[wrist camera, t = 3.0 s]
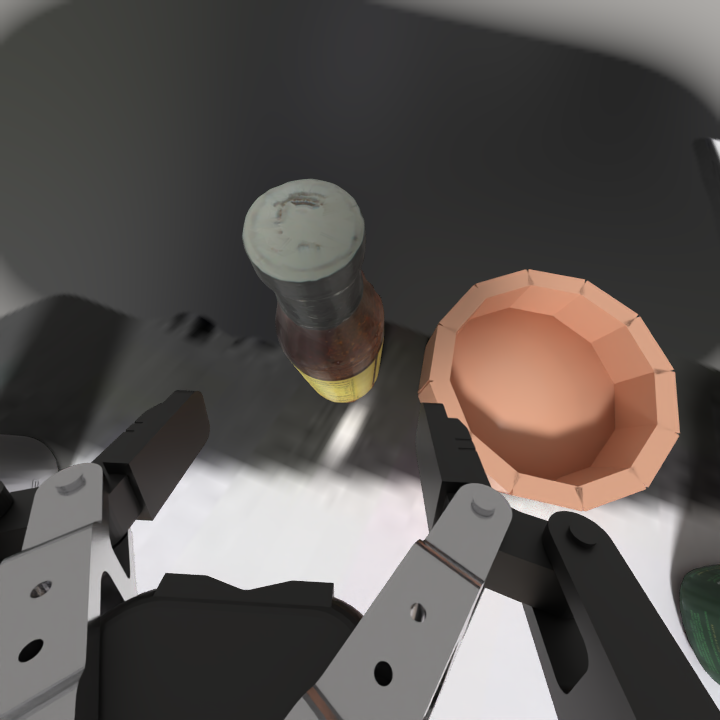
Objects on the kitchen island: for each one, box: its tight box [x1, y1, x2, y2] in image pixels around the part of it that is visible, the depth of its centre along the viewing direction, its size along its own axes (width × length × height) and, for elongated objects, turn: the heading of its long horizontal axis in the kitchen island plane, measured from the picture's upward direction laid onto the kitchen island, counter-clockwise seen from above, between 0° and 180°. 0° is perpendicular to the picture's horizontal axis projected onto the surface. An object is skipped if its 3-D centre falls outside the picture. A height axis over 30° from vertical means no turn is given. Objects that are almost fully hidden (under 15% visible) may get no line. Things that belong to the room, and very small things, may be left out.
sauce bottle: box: [242, 179, 384, 403], centre depth 20 cm, size 6×6×20 cm
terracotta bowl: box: [418, 269, 680, 511], centre depth 26 cm, size 18×18×5 cm
